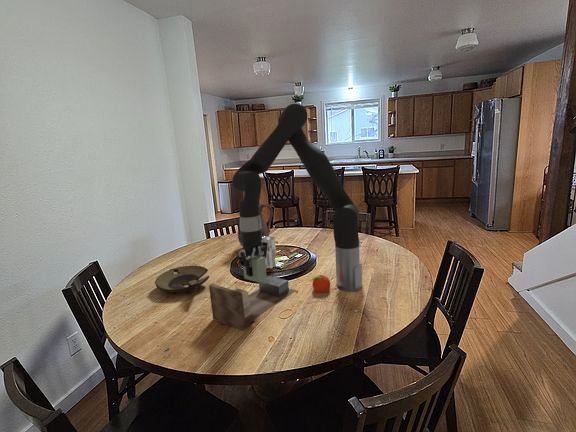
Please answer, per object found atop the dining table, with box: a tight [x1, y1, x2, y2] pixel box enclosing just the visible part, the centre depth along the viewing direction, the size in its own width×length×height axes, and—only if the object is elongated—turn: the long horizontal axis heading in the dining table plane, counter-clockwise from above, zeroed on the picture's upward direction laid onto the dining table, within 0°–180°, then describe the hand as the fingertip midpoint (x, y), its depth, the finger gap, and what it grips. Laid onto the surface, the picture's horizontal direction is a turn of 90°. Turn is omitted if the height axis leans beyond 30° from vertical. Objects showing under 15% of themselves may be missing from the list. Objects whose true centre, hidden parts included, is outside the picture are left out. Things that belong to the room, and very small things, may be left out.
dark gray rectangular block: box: [258, 275, 290, 298], centre depth 124 cm, size 10×6×4 cm, turn 53°
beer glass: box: [262, 236, 277, 269], centre depth 150 cm, size 7×7×15 cm
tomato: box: [310, 274, 331, 294], centre depth 123 cm, size 8×7×7 cm
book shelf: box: [208, 283, 297, 332], centre depth 116 cm, size 14×30×13 cm, turn 143°
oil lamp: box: [154, 265, 210, 293], centre depth 135 cm, size 22×30×8 cm
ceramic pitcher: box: [237, 203, 274, 247], centre depth 182 cm, size 18×21×25 cm
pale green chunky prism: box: [242, 255, 268, 283], centre depth 114 cm, size 7×4×8 cm, turn 53°
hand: (255, 273), depth 115 cm, fingers closed on pale green chunky prism, 4 cm apart
